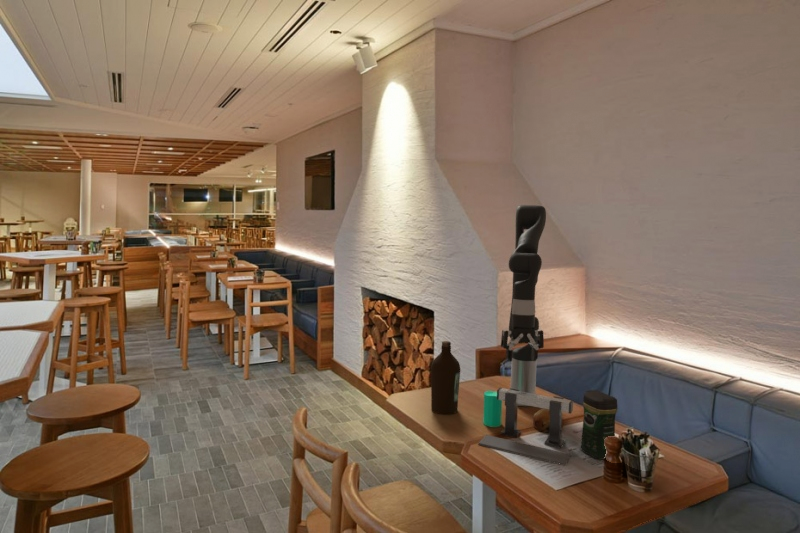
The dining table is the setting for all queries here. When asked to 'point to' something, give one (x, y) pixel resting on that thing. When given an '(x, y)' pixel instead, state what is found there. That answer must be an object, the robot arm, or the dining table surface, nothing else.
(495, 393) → the candle
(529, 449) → the mat
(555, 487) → the dining table surface
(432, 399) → the olive oil
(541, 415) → the bread roll
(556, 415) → the post pair
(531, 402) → the rail
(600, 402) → the coffee jar
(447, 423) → the dining table surface
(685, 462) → the dining table surface
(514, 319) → the robot arm
